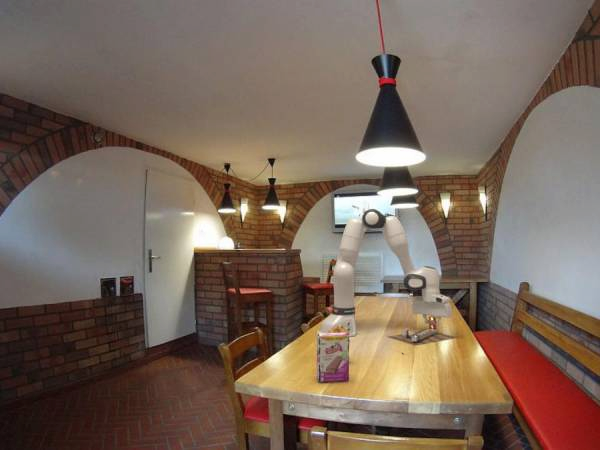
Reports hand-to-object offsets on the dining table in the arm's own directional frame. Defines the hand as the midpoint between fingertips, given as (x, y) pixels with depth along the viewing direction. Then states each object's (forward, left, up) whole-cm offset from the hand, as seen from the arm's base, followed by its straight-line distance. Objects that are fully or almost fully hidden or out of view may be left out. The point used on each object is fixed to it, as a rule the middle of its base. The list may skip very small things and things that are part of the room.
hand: (432, 324), depth 194 cm
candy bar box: (-79, -25, -7) cm, 83 cm away
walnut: (-16, -1, -5) cm, 16 cm away
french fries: (-66, -9, -7) cm, 67 cm away
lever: (-10, -4, -5) cm, 11 cm away
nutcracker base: (-9, -1, -7) cm, 12 cm away
